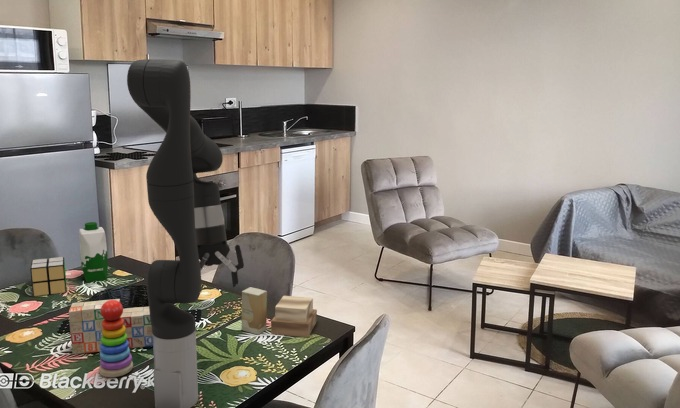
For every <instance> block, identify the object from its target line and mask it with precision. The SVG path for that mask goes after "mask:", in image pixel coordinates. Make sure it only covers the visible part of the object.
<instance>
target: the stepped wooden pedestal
mask: <svg viewBox="0 0 680 408" xmlns="http://www.w3.org/2000/svg"><path fill="white" fill-rule="evenodd" d="M313 304H314V298H313V297H305V296H293V295H292V296H291V295H283V296H282V297H281V298H280V300H279V301H278V303H276V305H275V307H274V309H275V310H274V311H275V314H274V316H273V318H272V319H271V320H270V335H278V336H279V335H280V336H287V337H299V338H309V337H310V335H311V333H312V331H313V330H314V327H315V325H316V324H317V321H318V319H317V316H318V314H317V312H318V310H317V309H314V305H313Z"/></svg>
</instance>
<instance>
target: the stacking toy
mask: <svg viewBox="0 0 680 408" xmlns="http://www.w3.org/2000/svg"><path fill="white" fill-rule="evenodd" d="M108 300H109V301H107V302H105V303H104V304H103V305H102V307H101V315H102V317H103V318H104V320H103V322H102V327H103V329H102V335H103V336H102V337H101V342H102V343H101V345H100V349H101V351H100V352H99V358H100V359H99V367H98V372H99V373H100V375H101V376H103V377H105V378H118V377H119V378H120V377H122V376H125V375H126V374H128V373H130V372H131V371H132V370H133V368H134V362H133V355H132V354H131V350H130V349H131V348H129V347H128V345H129V343H128V340H127V334H126V333H125V332H126V327H125V326H124V325H123V324H124V320H123V319H122V318H121V315H122V313H123V309H124V307H123V304H122V303H121V301H120V302H118V301H116V300H112V299H108Z"/></svg>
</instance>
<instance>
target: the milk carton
mask: <svg viewBox="0 0 680 408" xmlns="http://www.w3.org/2000/svg"><path fill="white" fill-rule="evenodd" d="M78 232H79V233H78V240H79V253H80V266H81V271H82V273H83V276H84V280H85V283H92V282H93V283H94V282H98V281H99V282H100V281H105V280H108V271H109V270H108V268H109V262H108V248H107V235H106V232H105V229H104V228H103V227H102V226H99V227H98V223H97V222H96V221H94V222H93V221H92V222H91V221H90V222H85V223H84V228H79V231H78Z"/></svg>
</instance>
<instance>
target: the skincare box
mask: <svg viewBox="0 0 680 408" xmlns="http://www.w3.org/2000/svg"><path fill="white" fill-rule="evenodd" d="M267 306H268V291H267V290H263V289H260V288H256V287H251V286H250V287H247V288H245V289H244V290H242V291H241V330H242V331H244V332H247V333H250V334H253V335H254V334H255V335H260V334H262V333H263V332H265V331H266V330H267V321H268V320H267V317H268V314H267V313H268V308H267Z"/></svg>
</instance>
